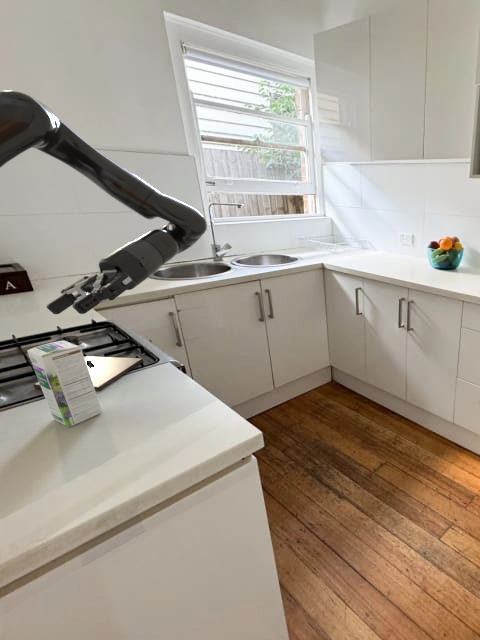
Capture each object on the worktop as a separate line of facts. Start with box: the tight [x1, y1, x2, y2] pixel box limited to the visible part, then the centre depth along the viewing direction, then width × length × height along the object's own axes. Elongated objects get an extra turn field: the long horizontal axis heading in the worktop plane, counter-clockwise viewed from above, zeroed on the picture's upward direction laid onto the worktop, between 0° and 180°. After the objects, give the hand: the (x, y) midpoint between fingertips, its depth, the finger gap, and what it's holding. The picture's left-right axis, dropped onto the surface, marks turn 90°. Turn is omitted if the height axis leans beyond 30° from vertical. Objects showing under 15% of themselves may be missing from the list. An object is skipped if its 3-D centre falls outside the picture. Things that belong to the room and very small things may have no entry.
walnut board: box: [33, 356, 144, 392], centre depth 88 cm, size 14×14×1 cm
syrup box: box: [26, 340, 103, 428], centre depth 70 cm, size 6×6×14 cm
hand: (63, 310), depth 71 cm, fingers open, 8 cm apart
